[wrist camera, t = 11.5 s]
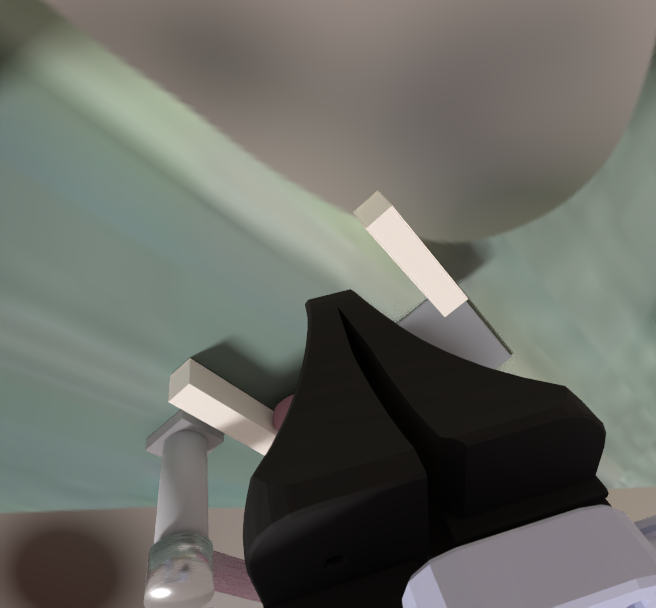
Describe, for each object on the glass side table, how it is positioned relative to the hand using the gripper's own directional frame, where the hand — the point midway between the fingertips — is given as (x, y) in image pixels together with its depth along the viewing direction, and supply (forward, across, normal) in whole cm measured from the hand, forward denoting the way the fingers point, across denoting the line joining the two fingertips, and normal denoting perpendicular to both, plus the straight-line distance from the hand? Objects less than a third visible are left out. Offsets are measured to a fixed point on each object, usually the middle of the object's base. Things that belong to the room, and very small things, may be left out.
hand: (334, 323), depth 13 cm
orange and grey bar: (+2, +5, +16) cm, 17 cm away
